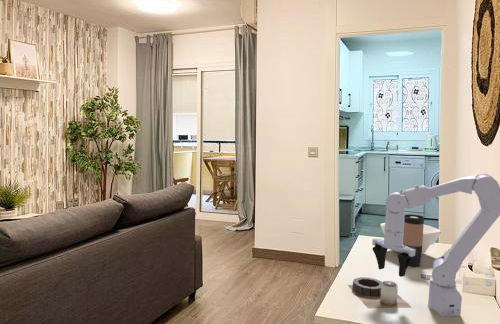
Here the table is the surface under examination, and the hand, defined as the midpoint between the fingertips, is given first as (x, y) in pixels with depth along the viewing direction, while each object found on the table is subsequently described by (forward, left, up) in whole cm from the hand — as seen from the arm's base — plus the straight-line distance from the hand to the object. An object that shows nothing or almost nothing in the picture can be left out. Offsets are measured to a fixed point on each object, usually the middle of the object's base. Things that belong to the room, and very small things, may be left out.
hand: (391, 272), depth 134 cm
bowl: (+50, -32, -10) cm, 61 cm away
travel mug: (+34, -25, -10) cm, 44 cm away
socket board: (+2, +3, -10) cm, 10 cm away
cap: (-3, +2, -8) cm, 9 cm away
